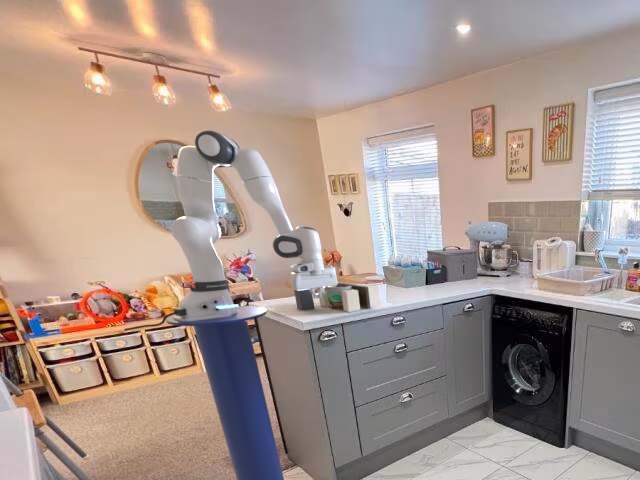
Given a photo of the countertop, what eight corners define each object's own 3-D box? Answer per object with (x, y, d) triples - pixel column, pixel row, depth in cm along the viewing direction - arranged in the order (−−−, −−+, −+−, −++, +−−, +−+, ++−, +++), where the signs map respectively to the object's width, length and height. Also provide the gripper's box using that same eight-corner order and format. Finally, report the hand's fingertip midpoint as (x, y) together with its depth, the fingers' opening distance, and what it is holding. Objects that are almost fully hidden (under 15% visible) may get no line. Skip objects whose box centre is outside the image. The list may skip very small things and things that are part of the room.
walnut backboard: (367, 308, 193) (365, 287, 189) (338, 302, 206) (335, 282, 202) (370, 308, 194) (368, 286, 190) (340, 302, 207) (337, 282, 203)
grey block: (302, 310, 188) (298, 290, 184) (297, 309, 190) (293, 289, 187) (314, 308, 192) (311, 289, 189) (309, 307, 194) (306, 288, 191)
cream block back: (325, 306, 196) (322, 287, 192) (320, 306, 198) (317, 287, 195) (336, 305, 200) (333, 286, 197) (331, 304, 202) (328, 285, 199)
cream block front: (349, 312, 186) (346, 291, 182) (343, 310, 188) (340, 290, 184) (360, 309, 190) (357, 290, 187) (355, 308, 192) (352, 289, 189)
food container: (326, 310, 188) (323, 288, 185) (326, 307, 194) (323, 286, 190) (355, 308, 193) (352, 287, 189) (354, 306, 198) (352, 285, 194)
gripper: (330, 264, 189) (334, 294, 194) (286, 267, 173) (291, 300, 178) (338, 265, 186) (342, 296, 191) (294, 268, 170) (299, 301, 175)
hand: (317, 298), depth 184 cm, fingers closed
